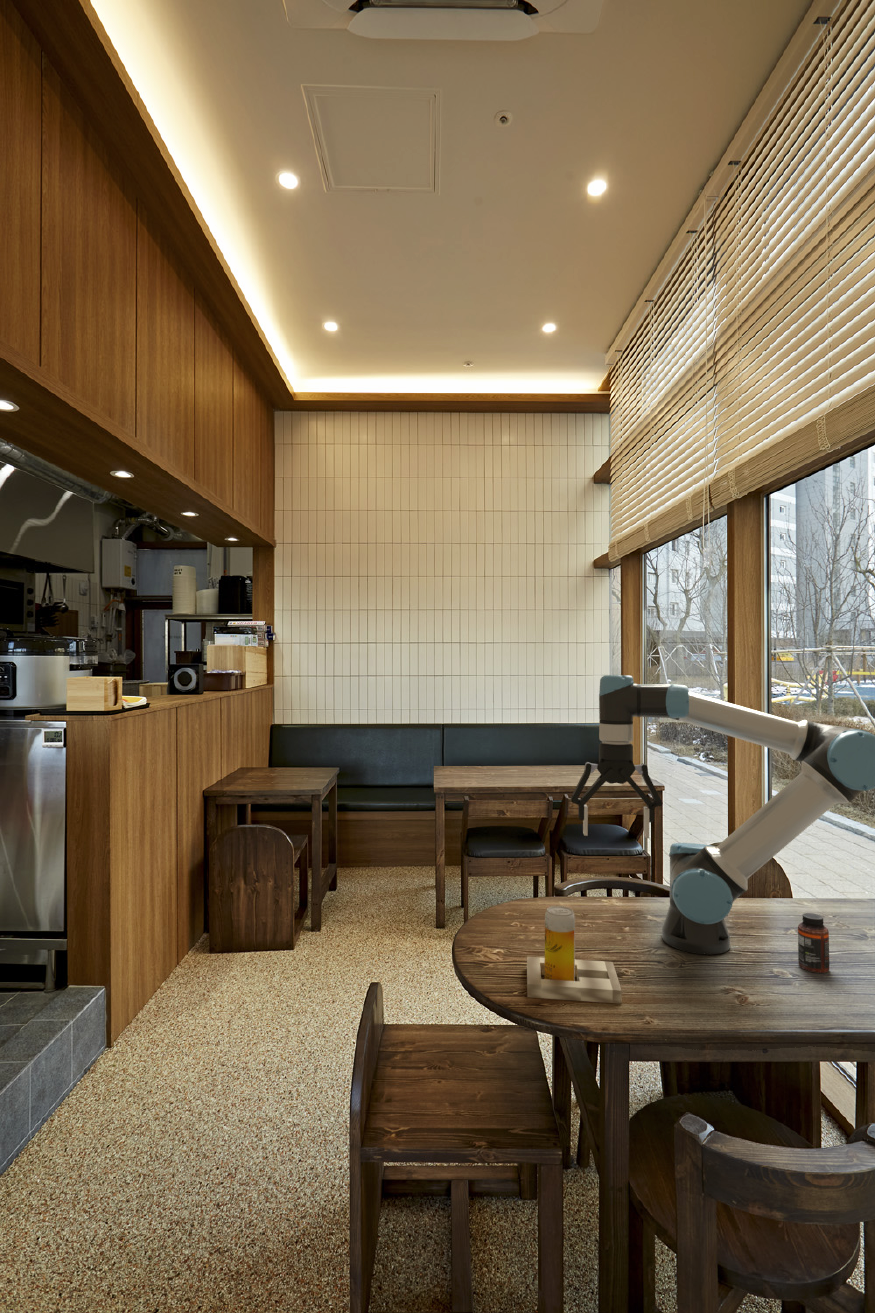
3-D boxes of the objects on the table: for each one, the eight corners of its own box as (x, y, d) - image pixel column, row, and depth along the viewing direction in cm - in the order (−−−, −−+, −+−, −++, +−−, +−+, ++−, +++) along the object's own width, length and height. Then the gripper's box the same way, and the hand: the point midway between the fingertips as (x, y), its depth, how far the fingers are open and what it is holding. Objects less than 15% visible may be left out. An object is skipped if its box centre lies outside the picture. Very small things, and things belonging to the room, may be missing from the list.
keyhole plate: (612, 974, 141) (612, 962, 141) (621, 1003, 128) (621, 990, 128) (526, 968, 143) (527, 956, 144) (527, 997, 131) (527, 984, 131)
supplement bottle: (826, 964, 147) (825, 913, 147) (832, 976, 141) (832, 922, 142) (795, 960, 149) (795, 909, 149) (800, 971, 143) (800, 918, 144)
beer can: (541, 978, 139) (541, 905, 139) (569, 977, 139) (570, 905, 140) (548, 992, 133) (549, 916, 133) (578, 991, 133) (578, 915, 134)
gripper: (668, 742, 155) (668, 833, 154) (559, 739, 158) (559, 829, 157) (676, 745, 147) (676, 841, 147) (561, 742, 151) (561, 837, 150)
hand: (615, 835), depth 152 cm, fingers open, 13 cm apart
